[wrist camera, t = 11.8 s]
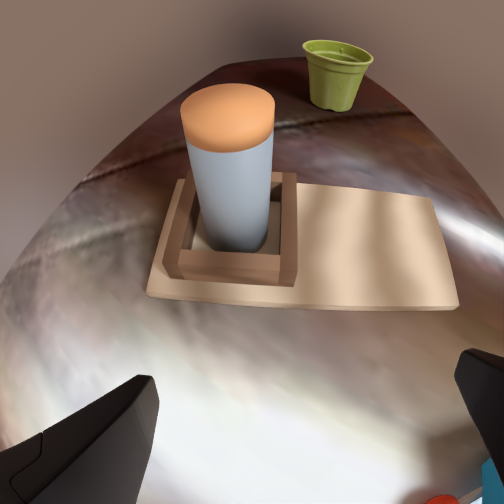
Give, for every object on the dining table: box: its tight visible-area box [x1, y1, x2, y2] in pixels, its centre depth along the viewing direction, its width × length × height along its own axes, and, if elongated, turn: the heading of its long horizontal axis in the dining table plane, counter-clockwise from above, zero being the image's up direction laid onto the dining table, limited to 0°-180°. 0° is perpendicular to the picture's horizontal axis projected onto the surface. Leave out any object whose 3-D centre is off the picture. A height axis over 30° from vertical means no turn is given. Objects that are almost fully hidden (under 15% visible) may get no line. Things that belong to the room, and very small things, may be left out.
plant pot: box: [303, 40, 373, 112], centre depth 34 cm, size 9×9×9 cm
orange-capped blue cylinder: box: [180, 84, 275, 253], centre depth 19 cm, size 5×5×12 cm
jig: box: [146, 170, 459, 311], centre depth 24 cm, size 26×12×4 cm, turn 86°
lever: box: [426, 457, 504, 504], centre depth 12 cm, size 7×7×18 cm
